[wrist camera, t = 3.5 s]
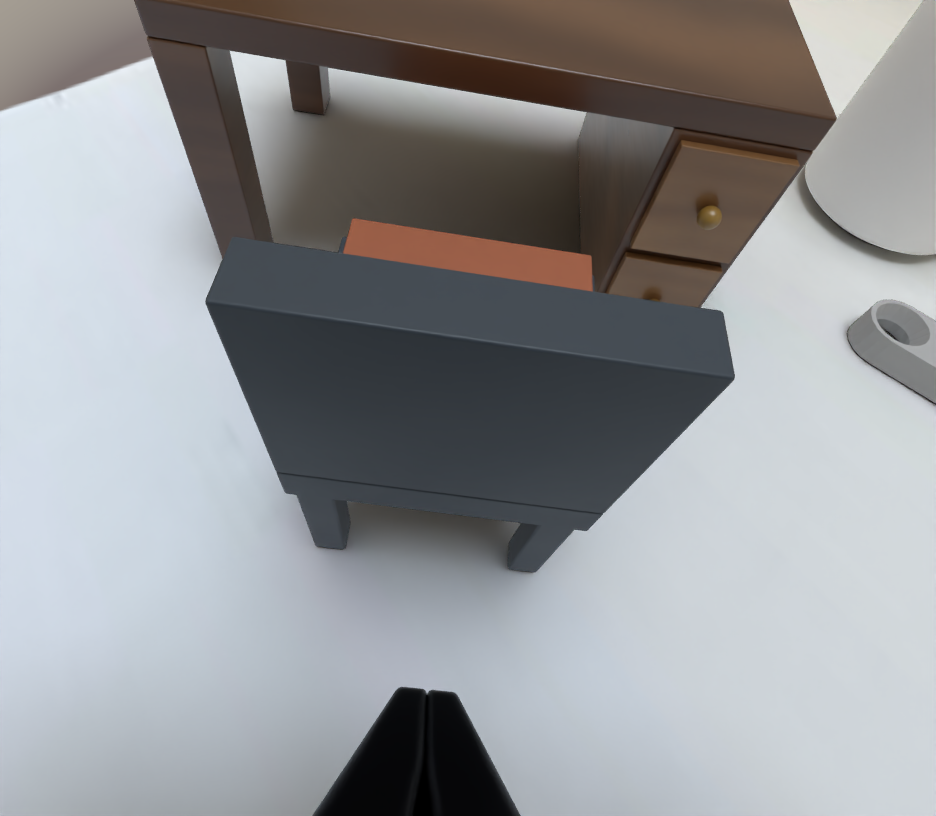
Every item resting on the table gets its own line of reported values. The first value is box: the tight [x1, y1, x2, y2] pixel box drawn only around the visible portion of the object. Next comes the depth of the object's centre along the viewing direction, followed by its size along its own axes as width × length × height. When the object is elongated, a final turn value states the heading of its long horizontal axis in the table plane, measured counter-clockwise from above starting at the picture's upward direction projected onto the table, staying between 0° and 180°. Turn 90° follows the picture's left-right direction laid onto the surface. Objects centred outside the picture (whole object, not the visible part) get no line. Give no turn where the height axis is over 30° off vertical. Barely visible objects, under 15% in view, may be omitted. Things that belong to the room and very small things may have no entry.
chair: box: [205, 218, 735, 572], centre depth 14 cm, size 7×7×11 cm
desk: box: [134, 0, 837, 308], centre depth 21 cm, size 13×18×10 cm
